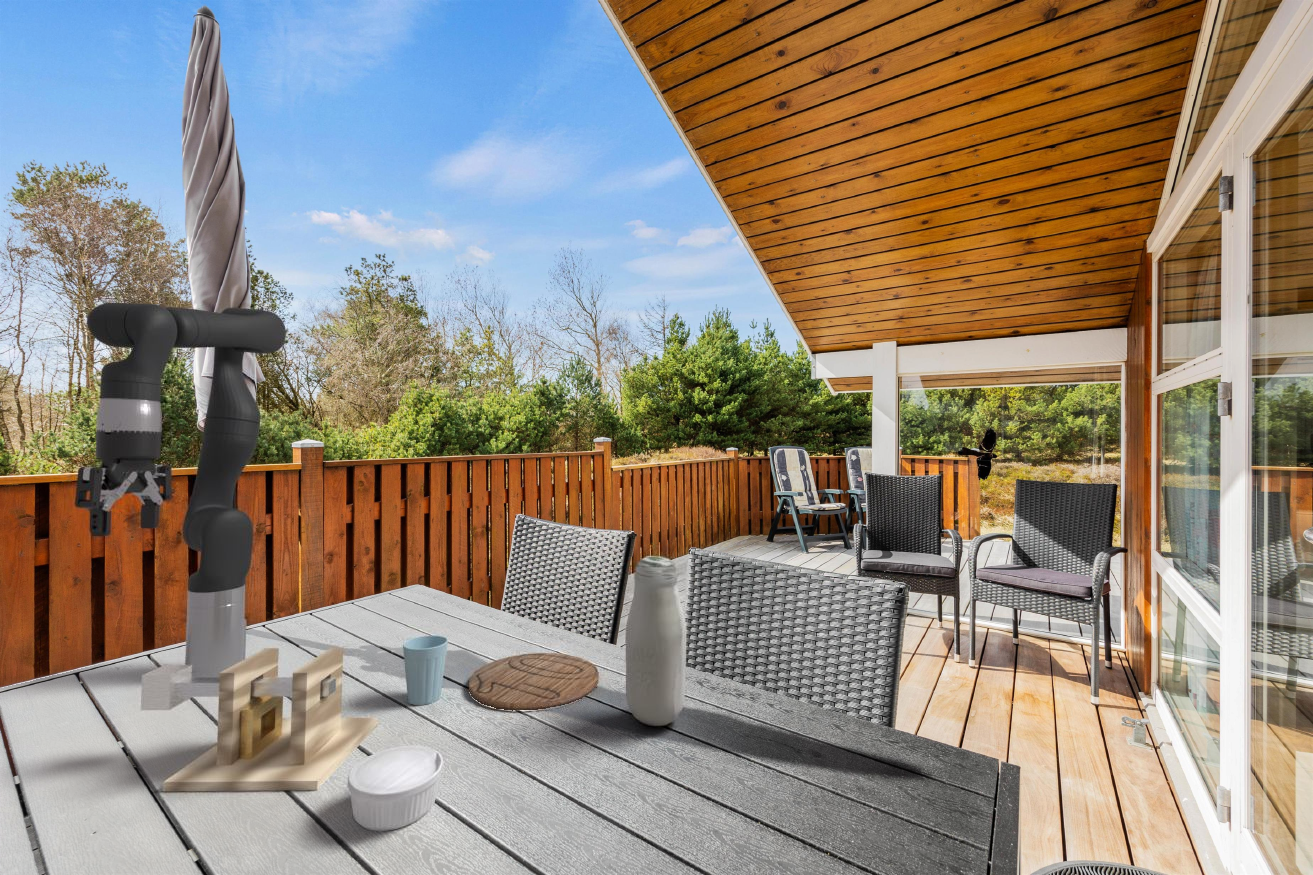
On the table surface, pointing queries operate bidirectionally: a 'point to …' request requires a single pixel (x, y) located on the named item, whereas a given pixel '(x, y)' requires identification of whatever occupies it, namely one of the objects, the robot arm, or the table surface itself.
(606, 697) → the table surface
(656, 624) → the glass bottle
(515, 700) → the trivet
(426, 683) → the cup
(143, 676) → the shaft
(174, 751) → the table surface
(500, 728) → the table surface
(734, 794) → the table surface
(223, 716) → the bracket
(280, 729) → the spacer ring
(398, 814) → the ramekin
